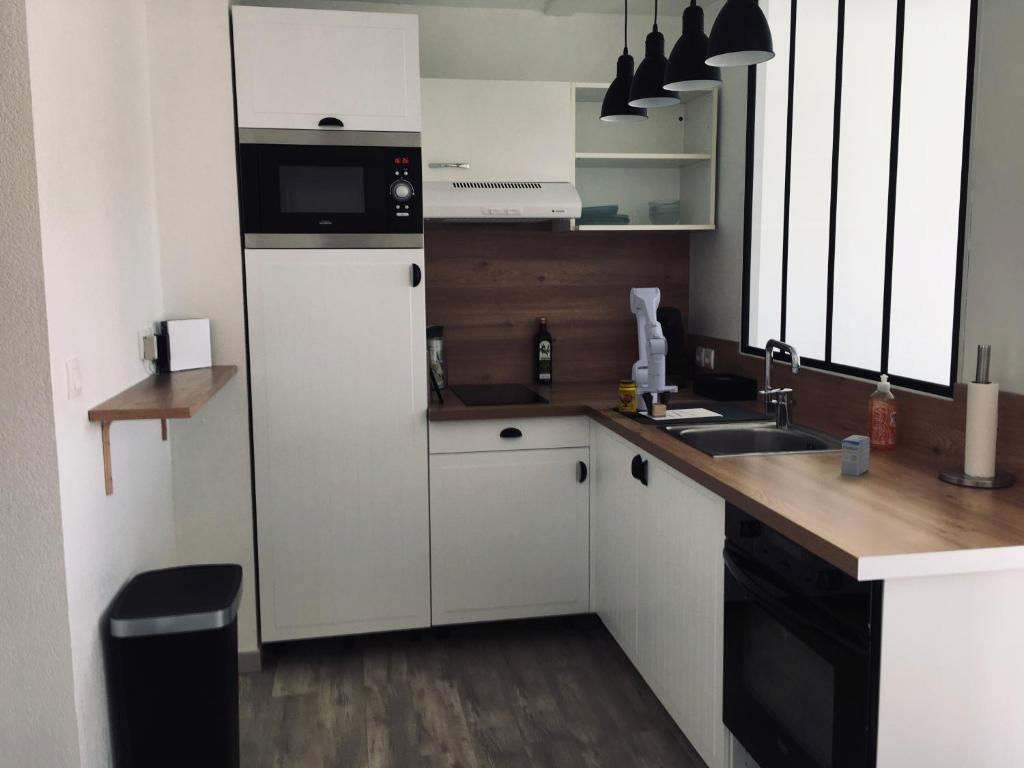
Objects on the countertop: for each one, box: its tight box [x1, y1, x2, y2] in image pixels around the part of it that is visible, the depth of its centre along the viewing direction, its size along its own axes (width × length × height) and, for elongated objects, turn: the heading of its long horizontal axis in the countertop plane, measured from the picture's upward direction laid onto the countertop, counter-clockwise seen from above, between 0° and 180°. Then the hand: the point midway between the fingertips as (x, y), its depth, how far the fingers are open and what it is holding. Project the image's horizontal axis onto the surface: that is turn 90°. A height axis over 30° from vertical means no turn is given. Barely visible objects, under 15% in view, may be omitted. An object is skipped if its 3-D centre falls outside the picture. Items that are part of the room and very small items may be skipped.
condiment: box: [618, 379, 637, 413], centre depth 316 cm, size 7×8×12 cm
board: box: [638, 408, 724, 421], centre depth 306 cm, size 16×24×1 cm, turn 103°
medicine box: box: [840, 434, 871, 477], centre depth 223 cm, size 8×4×9 cm, turn 141°
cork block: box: [646, 401, 667, 418], centre depth 303 cm, size 7×4×4 cm, turn 13°
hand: (656, 414), depth 303 cm, fingers closed on cork block, 4 cm apart
